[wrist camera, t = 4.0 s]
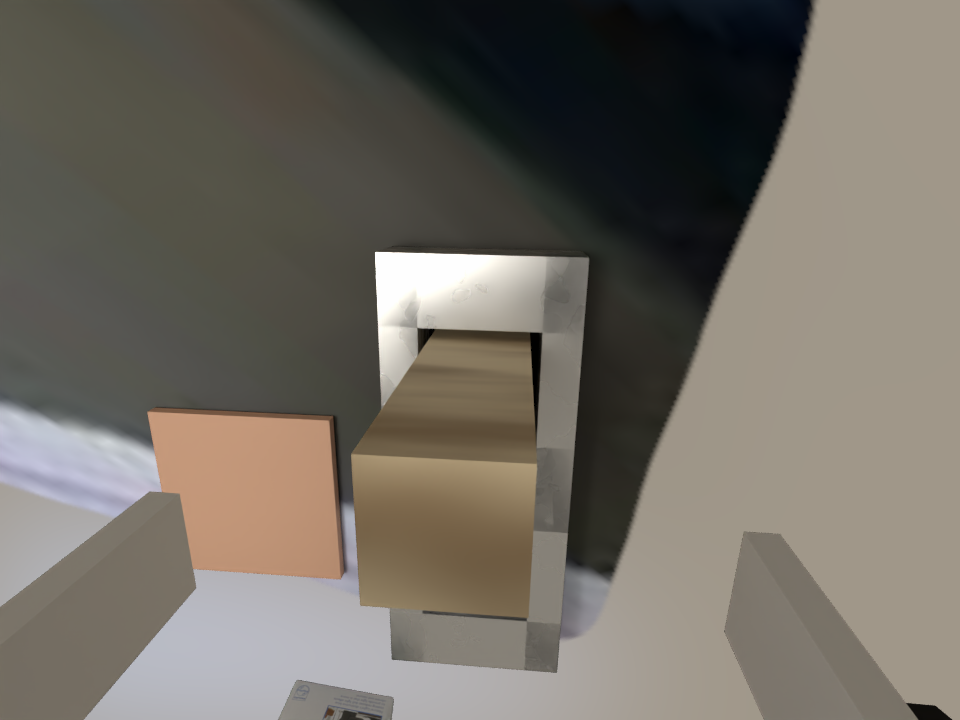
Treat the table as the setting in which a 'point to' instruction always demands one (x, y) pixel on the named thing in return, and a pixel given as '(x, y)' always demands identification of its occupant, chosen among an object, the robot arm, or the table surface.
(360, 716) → the light bulb box
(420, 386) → the peg
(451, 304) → the rail
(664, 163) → the table surface
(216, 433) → the pad
